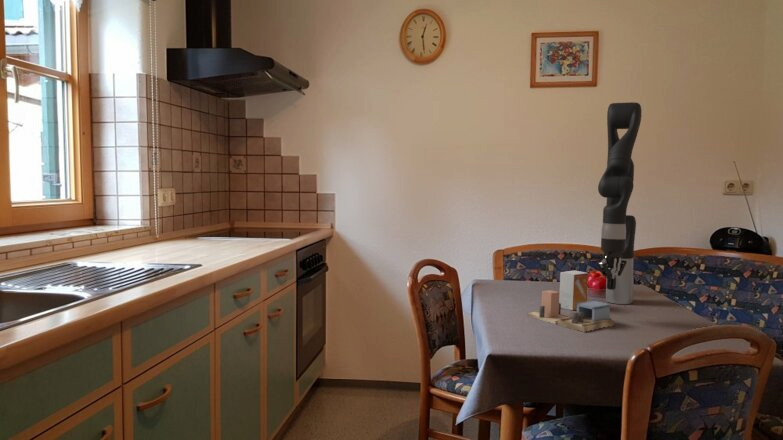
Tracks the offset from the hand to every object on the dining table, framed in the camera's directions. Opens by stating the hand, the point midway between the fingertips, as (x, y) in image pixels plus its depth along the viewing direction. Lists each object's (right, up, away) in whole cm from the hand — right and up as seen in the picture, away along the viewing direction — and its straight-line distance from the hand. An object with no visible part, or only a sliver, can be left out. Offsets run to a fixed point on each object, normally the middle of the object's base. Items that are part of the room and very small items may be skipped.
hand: (611, 289), depth 184 cm
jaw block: (-20, -9, +2) cm, 22 cm away
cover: (-8, -9, -4) cm, 12 cm away
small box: (-7, -9, +18) cm, 22 cm away
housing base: (-10, -11, -6) cm, 16 cm away
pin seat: (-20, -10, +2) cm, 22 cm away
